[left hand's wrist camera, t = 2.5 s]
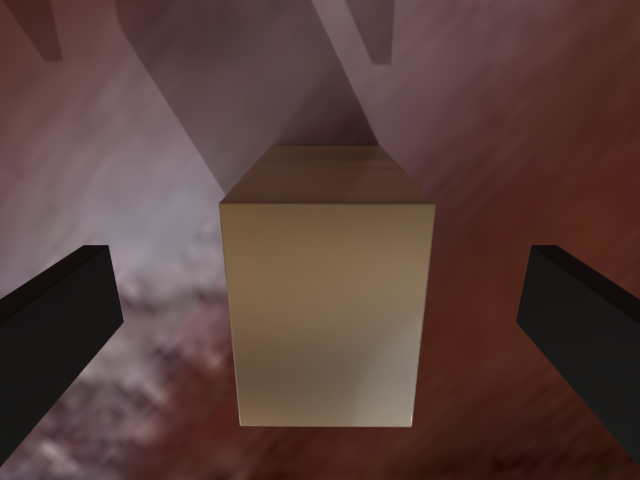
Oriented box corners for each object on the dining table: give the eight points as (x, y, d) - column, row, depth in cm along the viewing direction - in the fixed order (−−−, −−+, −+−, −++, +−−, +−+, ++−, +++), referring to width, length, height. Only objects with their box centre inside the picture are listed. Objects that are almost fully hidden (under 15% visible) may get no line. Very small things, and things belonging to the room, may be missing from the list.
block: (270, 145, 18) (218, 202, 9) (380, 145, 18) (436, 203, 9) (276, 277, 20) (239, 426, 11) (373, 277, 20) (412, 428, 11)
